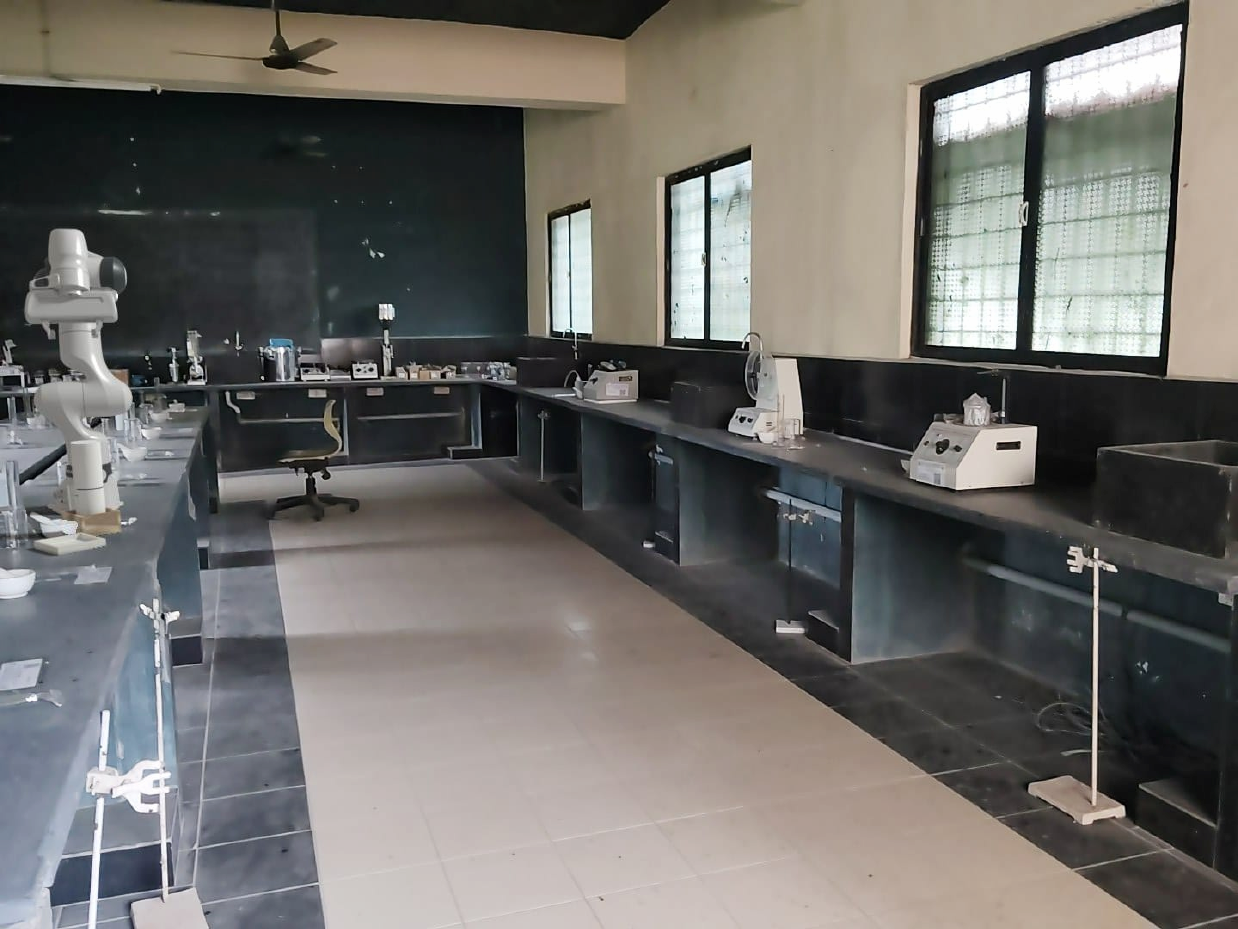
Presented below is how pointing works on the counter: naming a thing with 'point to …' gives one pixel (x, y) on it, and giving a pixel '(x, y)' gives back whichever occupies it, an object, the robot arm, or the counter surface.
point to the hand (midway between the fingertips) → (73, 337)
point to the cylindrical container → (87, 477)
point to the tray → (69, 543)
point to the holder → (96, 522)
